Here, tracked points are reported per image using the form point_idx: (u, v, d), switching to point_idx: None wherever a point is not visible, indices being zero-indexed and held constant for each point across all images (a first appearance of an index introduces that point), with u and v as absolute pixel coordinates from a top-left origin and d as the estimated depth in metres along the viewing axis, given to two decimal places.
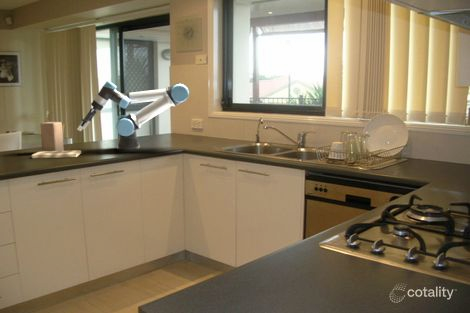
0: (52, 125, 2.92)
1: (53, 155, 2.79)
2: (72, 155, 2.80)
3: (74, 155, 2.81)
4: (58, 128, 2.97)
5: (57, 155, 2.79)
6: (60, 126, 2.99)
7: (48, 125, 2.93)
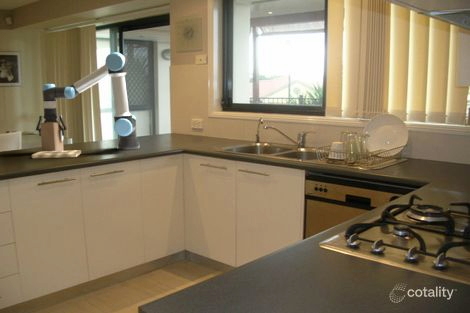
0: (52, 125, 2.92)
1: (53, 155, 2.79)
2: (72, 155, 2.80)
3: (74, 155, 2.81)
4: (58, 128, 2.97)
5: (57, 155, 2.79)
6: None
7: (48, 125, 2.93)
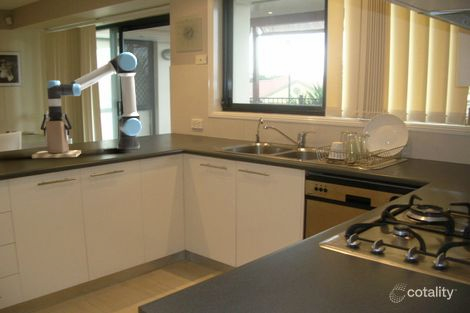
0: (59, 123, 2.79)
1: (53, 155, 2.79)
2: (72, 155, 2.80)
3: (74, 155, 2.81)
4: (64, 126, 2.84)
5: (57, 155, 2.79)
6: (66, 124, 2.86)
7: (55, 123, 2.78)
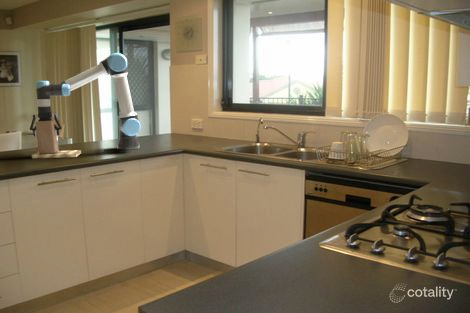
0: (50, 123, 2.78)
1: (53, 155, 2.79)
2: (72, 155, 2.80)
3: (74, 155, 2.81)
4: None
5: (57, 155, 2.79)
6: None
7: (45, 123, 2.77)
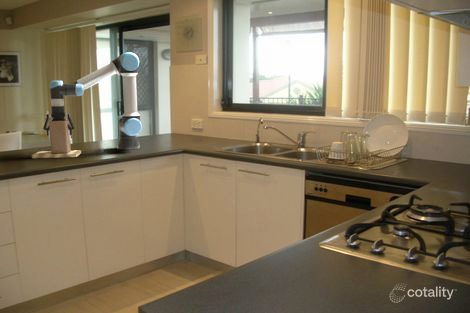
0: (64, 123, 2.79)
1: (53, 155, 2.79)
2: (72, 155, 2.80)
3: (74, 155, 2.81)
4: (67, 126, 2.85)
5: (57, 155, 2.79)
6: None
7: (59, 123, 2.79)
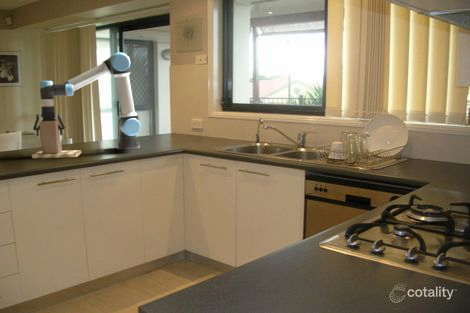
0: (54, 123, 2.78)
1: (53, 155, 2.79)
2: (72, 155, 2.80)
3: (74, 155, 2.81)
4: None
5: (57, 155, 2.79)
6: (59, 124, 2.86)
7: (49, 124, 2.78)
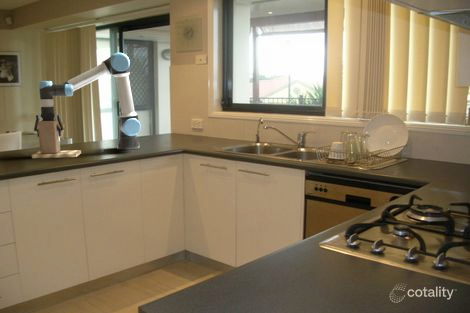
0: (53, 123, 2.78)
1: (53, 155, 2.79)
2: (72, 155, 2.80)
3: (74, 155, 2.81)
4: (56, 126, 2.84)
5: (57, 155, 2.79)
6: (57, 124, 2.86)
7: (48, 124, 2.78)
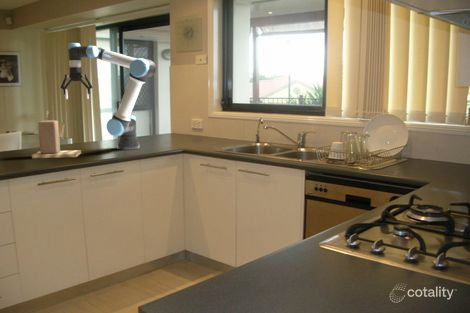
0: (53, 123, 2.78)
1: (53, 155, 2.79)
2: (72, 155, 2.80)
3: (74, 155, 2.81)
4: (57, 127, 2.84)
5: (57, 155, 2.79)
6: (57, 124, 2.86)
7: (48, 124, 2.78)
